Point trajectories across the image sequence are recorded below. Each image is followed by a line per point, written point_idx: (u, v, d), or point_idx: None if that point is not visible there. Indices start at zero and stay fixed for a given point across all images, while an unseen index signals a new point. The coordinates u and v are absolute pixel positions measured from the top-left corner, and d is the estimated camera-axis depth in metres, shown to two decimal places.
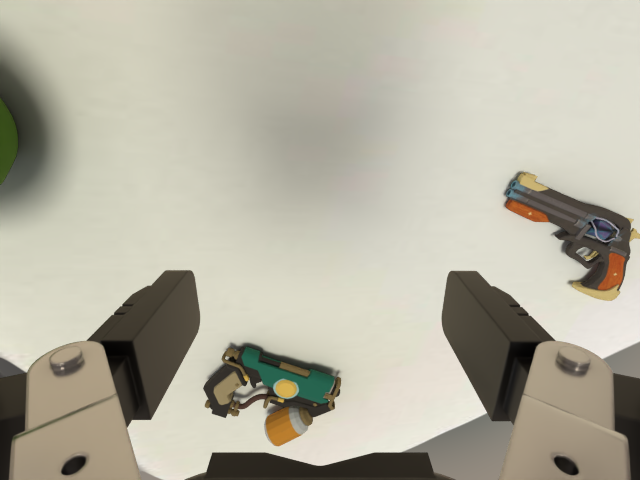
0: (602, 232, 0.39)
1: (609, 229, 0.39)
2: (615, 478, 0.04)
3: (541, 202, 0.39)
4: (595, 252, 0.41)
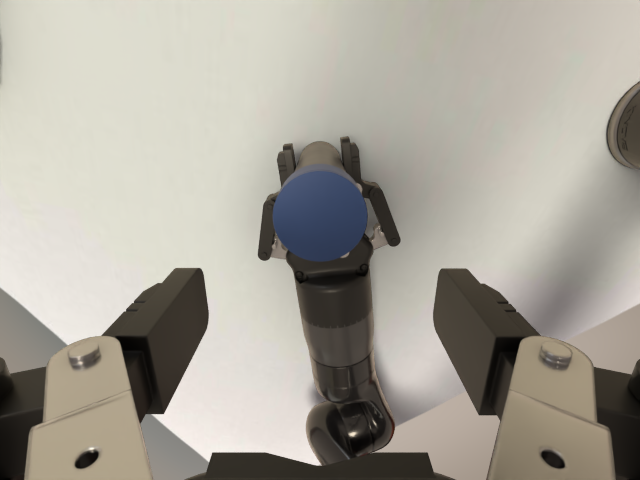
0: None
1: None
2: (600, 470, 0.04)
3: None
4: None
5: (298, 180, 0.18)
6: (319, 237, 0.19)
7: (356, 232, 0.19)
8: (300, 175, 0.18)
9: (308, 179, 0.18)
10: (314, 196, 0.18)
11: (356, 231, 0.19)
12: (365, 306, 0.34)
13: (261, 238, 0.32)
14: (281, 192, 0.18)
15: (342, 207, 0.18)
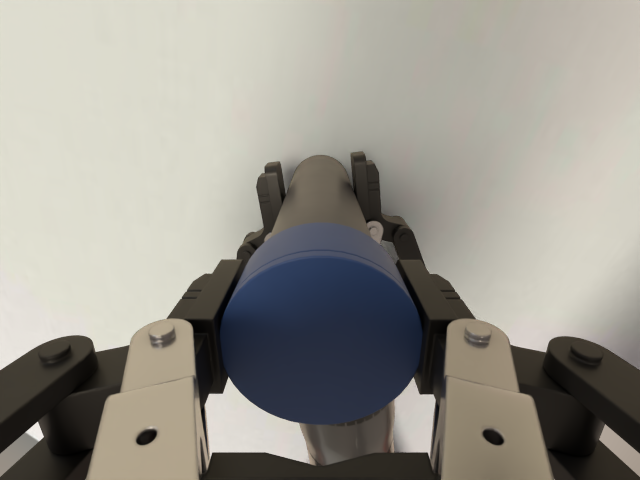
0: None
1: None
2: (531, 437, 0.04)
3: None
4: None
5: (272, 275, 0.08)
6: (319, 383, 0.09)
7: (398, 374, 0.09)
8: (276, 264, 0.08)
9: (294, 273, 0.08)
10: (308, 307, 0.08)
11: (398, 373, 0.09)
12: None
13: None
14: (235, 299, 0.08)
15: (370, 328, 0.08)
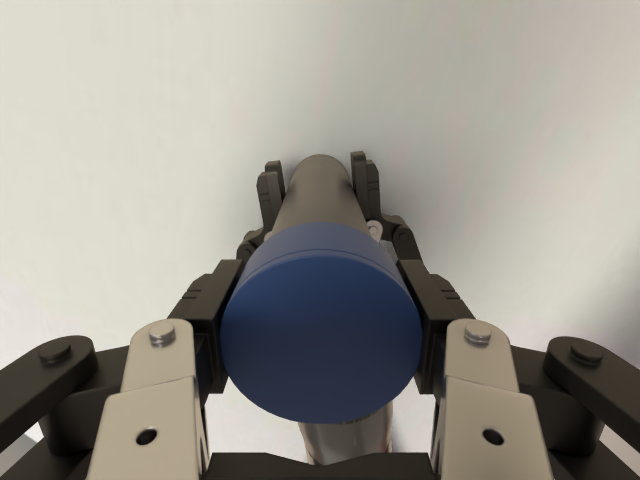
0: None
1: None
2: (531, 438, 0.04)
3: None
4: None
5: (231, 365, 0.09)
6: (362, 359, 0.09)
7: (376, 288, 0.08)
8: (223, 358, 0.09)
9: (233, 349, 0.09)
10: (270, 347, 0.09)
11: (374, 288, 0.08)
12: None
13: None
14: (248, 397, 0.09)
15: (309, 303, 0.08)
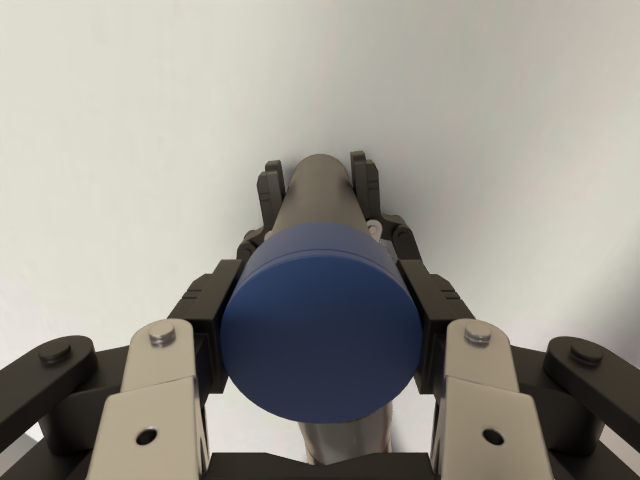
0: None
1: None
2: (532, 438, 0.04)
3: None
4: None
5: (317, 418, 0.10)
6: (345, 317, 0.08)
7: (265, 288, 0.08)
8: (309, 421, 0.10)
9: (300, 412, 0.09)
10: (306, 386, 0.09)
11: (263, 291, 0.08)
12: None
13: None
14: (357, 416, 0.10)
15: (267, 346, 0.09)
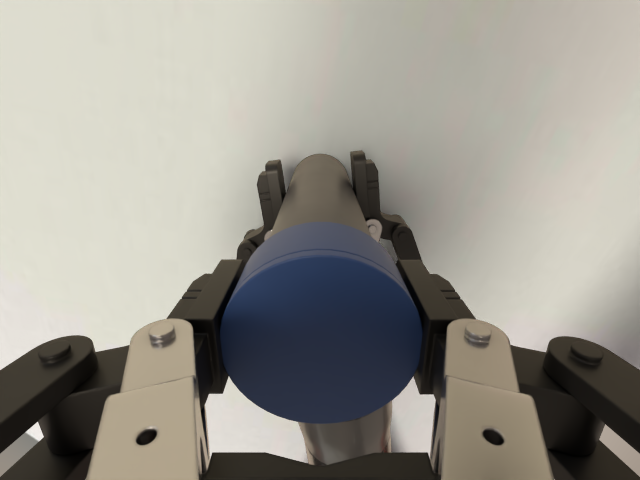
0: None
1: None
2: (531, 438, 0.04)
3: None
4: None
5: (407, 371, 0.09)
6: (291, 321, 0.08)
7: (244, 374, 0.09)
8: (409, 377, 0.09)
9: (393, 383, 0.09)
10: (362, 370, 0.09)
11: (246, 375, 0.09)
12: None
13: None
14: (420, 336, 0.09)
15: (304, 388, 0.09)
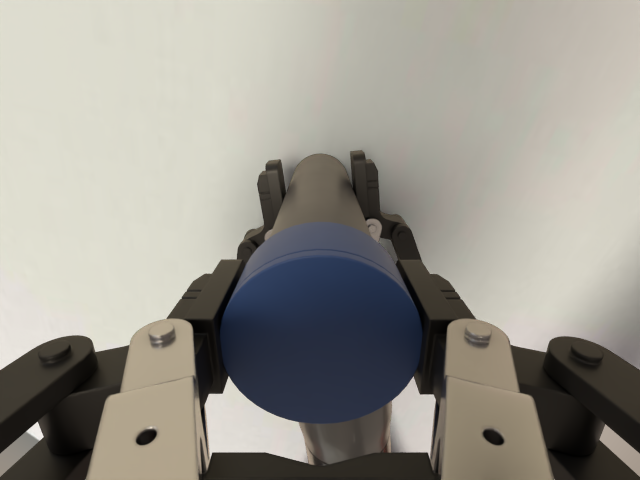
0: None
1: None
2: (532, 438, 0.04)
3: None
4: None
5: (377, 278, 0.08)
6: (283, 364, 0.09)
7: (330, 413, 0.09)
8: (388, 276, 0.08)
9: (388, 295, 0.08)
10: (359, 320, 0.08)
11: (332, 412, 0.09)
12: None
13: None
14: (334, 259, 0.08)
15: (364, 373, 0.09)
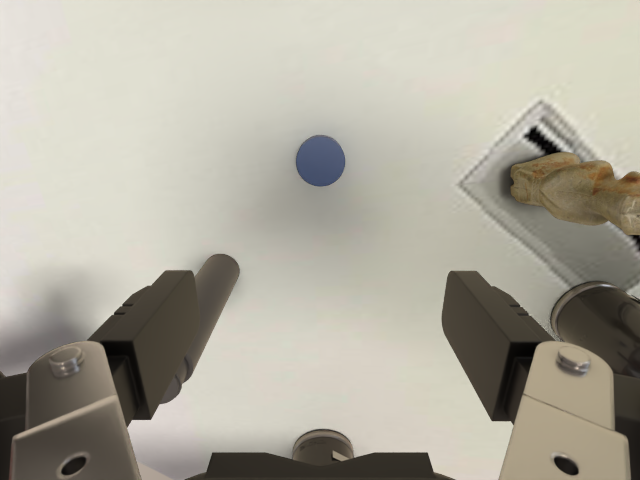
0: None
1: None
2: (615, 478, 0.04)
3: None
4: None
5: (333, 142, 0.36)
6: (311, 166, 0.37)
7: (322, 182, 0.37)
8: (335, 142, 0.36)
9: (335, 147, 0.36)
10: (329, 154, 0.36)
11: (323, 182, 0.37)
12: None
13: None
14: (323, 137, 0.36)
15: (331, 169, 0.37)
